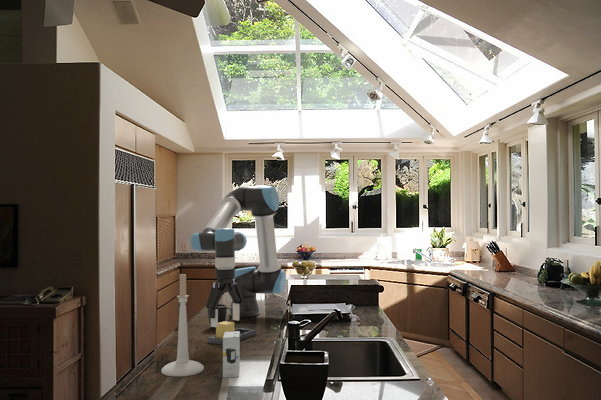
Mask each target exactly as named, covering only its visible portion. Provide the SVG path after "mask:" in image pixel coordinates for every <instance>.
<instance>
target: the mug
mask: <svg viewBox="0 0 601 400" xmlns="http://www.w3.org/2000/svg"><path fill="white" fill-rule="evenodd" d="M230 308H233V307H230V306H229V307H228V306H227V304H223V303H221V304H220V303H218V306H217V308H216V309H218V323H220V322H223V321H226V318H227V312H228V311H227V310H228V309H230ZM207 318H208V323H209V327H210V329H214V330H216V327H211V318H210V309H208V308H207ZM231 320H233V314H232V316H230V318H229V319H228V320H227V322H231Z"/></svg>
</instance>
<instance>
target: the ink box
mask: <svg viewBox="0 0 601 400" xmlns="http://www.w3.org/2000/svg"><path fill="white" fill-rule="evenodd" d="M240 341H241V340H240V331H234V332H225V333H224V336H223V345H222V378H239V377H240V369H241V368H240V365H241V364H240V363H241V362H240V359H241V357H240V350H241V349H240V344H241V343H240Z"/></svg>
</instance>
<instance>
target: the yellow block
mask: <svg viewBox="0 0 601 400" xmlns="http://www.w3.org/2000/svg"><path fill="white" fill-rule="evenodd" d="M234 329H235V322H234V321H230V322H228V321H226V320H225V321H223V322H220V323H218V327H216V329H215V335H216V337H219V338H223V336H224V333H225V332H234Z"/></svg>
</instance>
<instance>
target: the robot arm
mask: <svg viewBox="0 0 601 400" xmlns="http://www.w3.org/2000/svg"><path fill="white" fill-rule="evenodd" d="M279 206H280V199H279V194H278V192H277V189H276V187H274V186H272V185H251V186H247V185H245V186H240V187H239V186H238V187H237V188H235V189H234V190H232V191H230V192H229V193H227V194H226V196H225V197H224V198H223V199H222V200H221V201H220V207H219V208H218V209H217V211H216V212H215V213H214V215H213V216H212V217H211V219H210V220H209V221H208V223H207V225H206V226H205V227H204V229H203V230H202V231H201V232H195V233H193V234H192V235H191V237H190V246H191V249H192V250H194V251H198V252H199V251H200V252H215V253H214V255H215V256H214V257H215V258H214V259H215V265H214V267H215V268H216V269H215V271H214V274H215V276H214V277H215V279H216V280H217V282H215V281H214V282H211V287H210V291H209V296H208V298H207V301H206V304H205V308H206V309H207V310H208V309H210V318H211V327H218V309H216V308H217V306H218V304H220V301H221V299H222V297H223V295H225V294H226V293H228V295H229V296H230V298H231V299H232V300H231V302H230V306H229V307H233V308H229V310H228V311H229V313H228V315H229V316H230V317H231V316H232V314H233V317H232V320H233V321H238V322H239V321H240V318H245V317H246V318H247V317H248V318H249V317H256V316H260V313H261V311H260V306H259V303H258V301H257V294H264V295H265V294H267V295H280V294H282V293H283V291H284V289H285V286H286V281H287V273H286V270H285V269H282V265H281V264H280V263H279V262H278V253H277V244H276V243H277V242H276V233H275V221H274V216H275V215H276V214H277V212H276V211H277V210H278V209H279V208H280V207H279ZM244 211H245V212H247V211H248V212H249V211H250V212H251V216H252V217H253V218H254V220H255V229H256V239H257V247H258V258H259V265H258V267H256V266H247V267H242V268H241V267H240V268H237V269H235V267H236V255H235V254H236V253H235V252H239V251H241V250H243V249H244V248H246V245H247V237H246V235H245V234H244V233H242V232H238V231H237V232H236V231H235V229H234V228H232V227H231V228H228V225H229V224H230V223H231V221H232V220H233V218H234V217H235V216H236V215H238V214H239V213H241V212H244ZM211 327H210V328H211Z"/></svg>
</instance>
